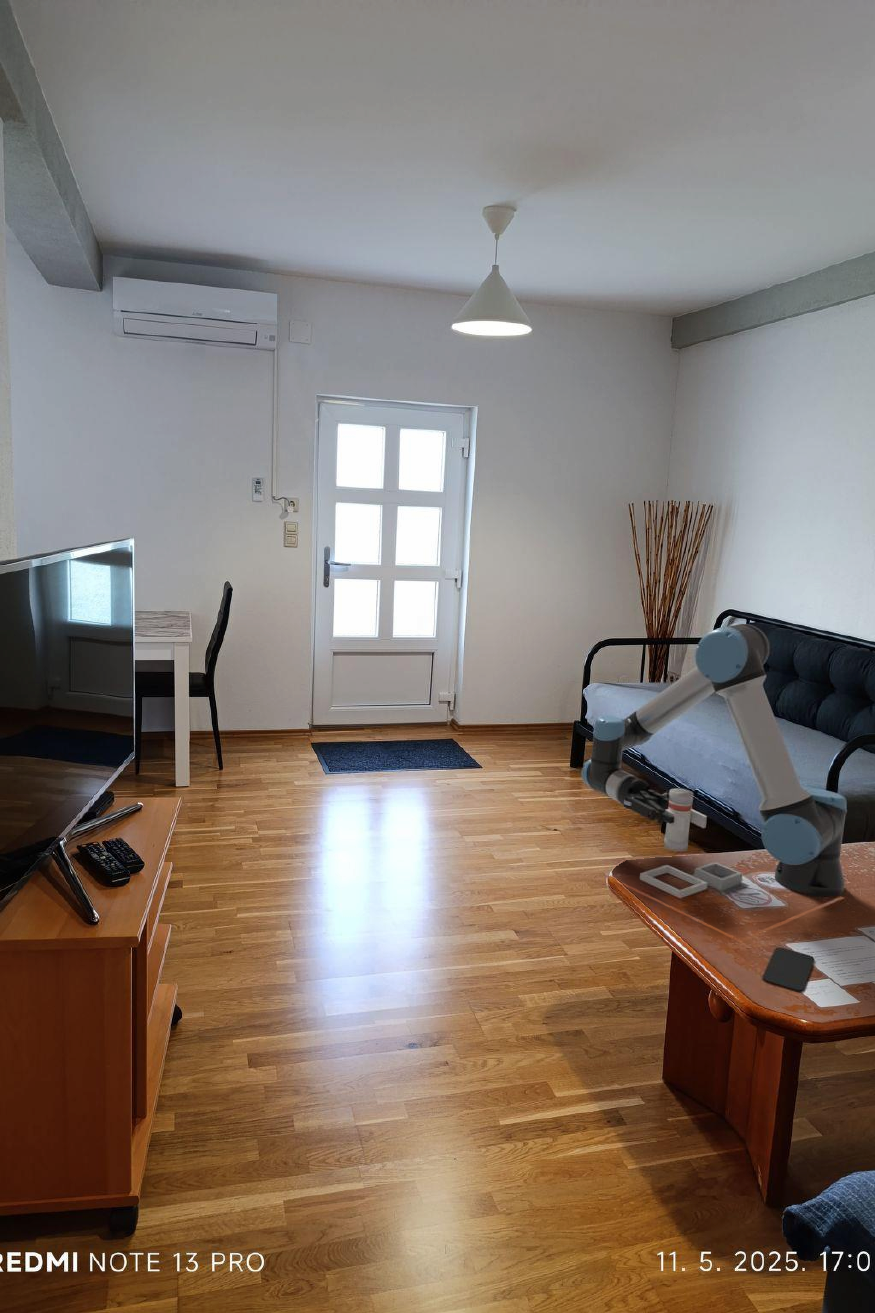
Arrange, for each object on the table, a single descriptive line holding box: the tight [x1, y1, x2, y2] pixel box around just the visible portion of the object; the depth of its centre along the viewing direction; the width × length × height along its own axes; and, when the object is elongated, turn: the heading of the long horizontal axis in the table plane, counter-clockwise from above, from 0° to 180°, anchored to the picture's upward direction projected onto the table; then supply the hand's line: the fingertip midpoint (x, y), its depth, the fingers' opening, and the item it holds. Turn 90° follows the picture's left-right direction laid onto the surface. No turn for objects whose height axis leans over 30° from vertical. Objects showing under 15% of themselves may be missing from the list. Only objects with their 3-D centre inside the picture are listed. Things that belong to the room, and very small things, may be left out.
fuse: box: [663, 788, 694, 852], centre depth 205 cm, size 5×5×13 cm
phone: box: [762, 946, 815, 993], centre depth 173 cm, size 7×1×15 cm
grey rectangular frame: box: [639, 864, 708, 899], centre depth 208 cm, size 12×10×2 cm
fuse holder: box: [690, 861, 750, 895], centre depth 210 cm, size 11×9×3 cm
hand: (695, 823), depth 200 cm, fingers closed on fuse, 5 cm apart
